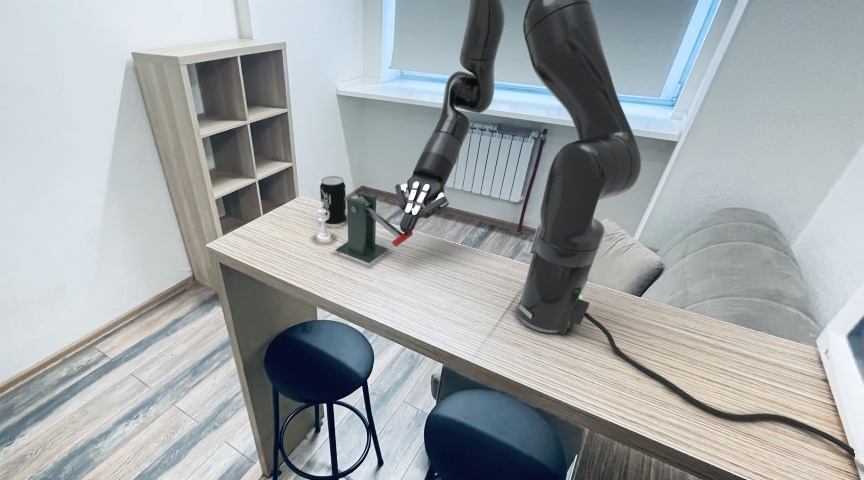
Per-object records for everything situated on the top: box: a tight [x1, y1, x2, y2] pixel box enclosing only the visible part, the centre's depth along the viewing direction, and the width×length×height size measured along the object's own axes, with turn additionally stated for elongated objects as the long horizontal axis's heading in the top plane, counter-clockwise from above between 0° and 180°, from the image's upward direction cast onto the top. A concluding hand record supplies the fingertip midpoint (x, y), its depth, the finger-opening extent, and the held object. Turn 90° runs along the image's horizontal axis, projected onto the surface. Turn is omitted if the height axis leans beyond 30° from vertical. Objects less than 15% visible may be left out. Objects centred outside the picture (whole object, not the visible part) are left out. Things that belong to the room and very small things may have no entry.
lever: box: [355, 196, 413, 247], centre depth 89 cm, size 14×6×2 cm, turn 53°
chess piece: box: [316, 201, 332, 240], centre depth 101 cm, size 5×5×10 cm
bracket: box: [334, 191, 389, 264], centre depth 94 cm, size 10×8×14 cm
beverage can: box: [319, 175, 347, 225], centre depth 108 cm, size 7×7×12 cm
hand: (404, 231), depth 88 cm, fingers closed
